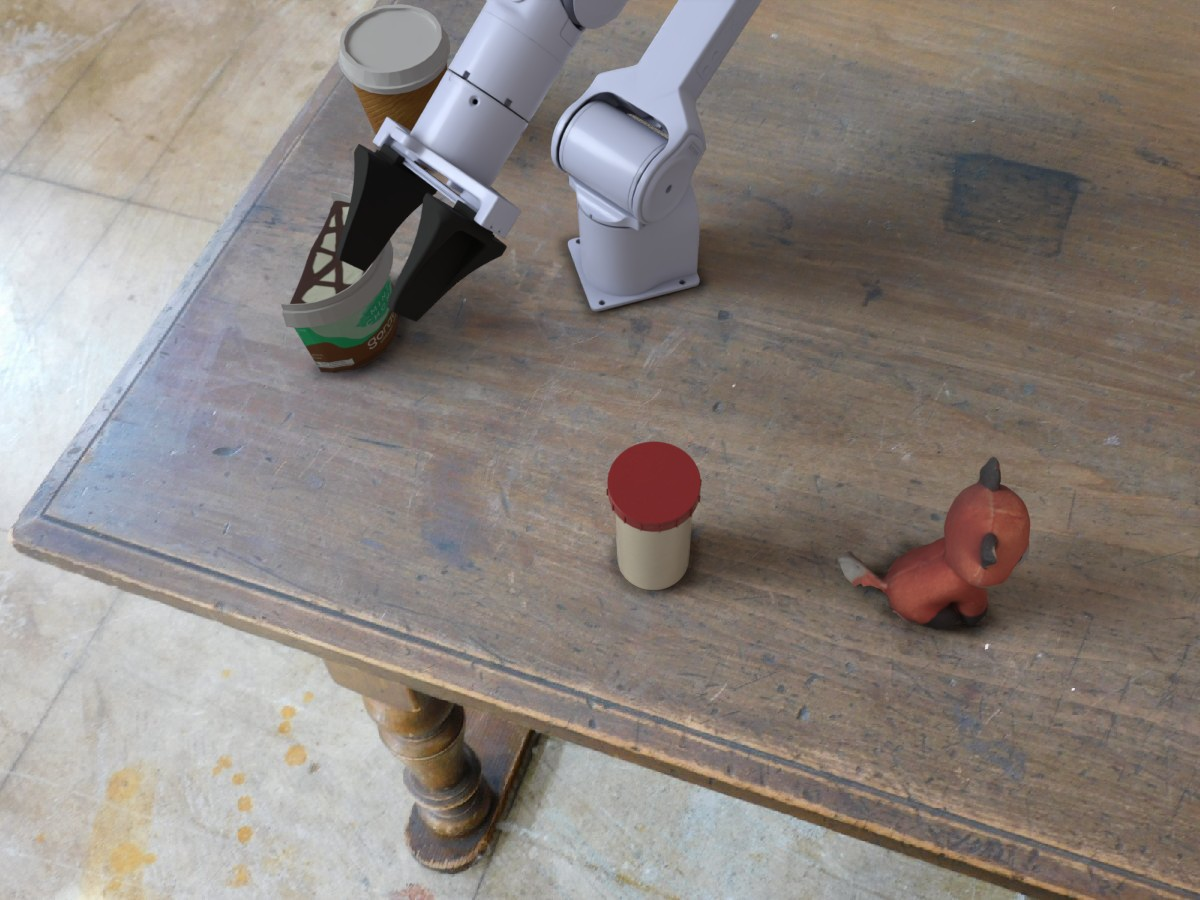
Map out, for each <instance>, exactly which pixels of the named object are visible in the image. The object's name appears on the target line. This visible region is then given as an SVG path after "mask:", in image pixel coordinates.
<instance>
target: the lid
mask: <svg viewBox="0 0 1200 900" xmlns="http://www.w3.org/2000/svg"><path fill="white" fill-rule="evenodd" d="M606 485H607V487H606V488H605V489H606V496H607V497H608V502H609V504H610V507H611V511H612V512H614V514H615V513H616V515H617V516H618V517H619V518H620V519H621V520H622V521H623V523H624V524H625V523H626V524H628V525H630V526H631V527H633V528H636V529H639V530H640V531H642V530H643V531H648V532H659V533H660V531H666V530H670V529H673V528H675V527H677V528H678V526H679V525H681V524H682V523H684V522H685V521H686V520H687V519H688V518H689V517H692V514H693V515H694V512H695V511H696V509H697V507H698V506H699V503H701V489H702V478H701V473H700V469H699V467H698V465H697V464H696V462H695V461H694V459H693V458H692V457H691V456H690V455H689V454H688V452H686V451H685V450H683V449H682V448H680V447H679V446H676V445H674V444H671V443H669V442H664V441H644V442H640V443H637V444H634V445H632V446H630V447H628V448H626V449H625V450H624V451H623V450H622V452H621V453H620V454H619V455H618V456H617V457H616V458H615V459H614V461H613V462H612V464H611V466H610V468H609V470H608V473H607V481H606ZM692 518H693V517H692Z"/></svg>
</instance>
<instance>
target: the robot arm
mask: <svg viewBox="0 0 1200 900" xmlns="http://www.w3.org/2000/svg"><path fill="white" fill-rule="evenodd" d="M628 2H629V0H485V4H484V5H483V7H482V9H481V11H480V12H479V14H478V15H477V17H476V20H475V21H474V23H473V24H472V26H471V28H470V30H469V31H468V32H467V34H466V36H465V38H464V40H463V42H462V43H461V45H460V47H459V49H458V50H457V51H456V54H455V56H453V59H452V60H451V63H450V64H449V65H448V66H447V71H446V73H445V74H444V76H443V78H442V80H441V81H440V83H439V85H438V86H437V88H436V90H435V92H434V93H433V95H432V97H431V99H430V100H429V102H428V104H427V105H426V107H425V109H424V111H423V112H422V114H421V116H420V117H419V119H418V121H417V123H416V124H415V126H414V128H413V129H412V131H410V130H408V129H407V128H405V127H404V126H402V125H400V124H399V123H397V122H395V121H394V120H392V119H391V118H389V117H386V119H385V121H384V123H383V124H382V126H381V128H380V130H379V131H378V133H377V135H376V134H375V136H374V139H373V140H372V143H373V144H374V145H375V146H377V147H378V148H380V149H376V150H375V151H374V150H371V149H370V148H367V147H366V146H365V145H363V144H360V143H358V144H357V146H356V147H355V149H354V151H353V162H354V163H353V164H354V165H353V166H354V168H353V183H352V184H353V185H352V189H351V190H352V191H351V196H350V197H351V202H350V206H349V210H348V214H347V218H346V221H345V225H344V228H343V232H342V235H341V238H340V242H339V246H338V249H337V254H336V257H337V258H338V259H339V260H341V261H343V262H345V263H347V264H349V265H352V266H354V267H356V268H358V269H360V270H362V271H365V270H366V269H367V268H368V267H369V266H370V265H371V264H372V263H373V262H374V261H375V260H376V258H377V257H378V256H379V254H380V253H381V251H382V250H383V248H384V247H385V246H386V244H387V243H388V241H389V240H390V241H391V239H392V237H393V235H394V234H395V233H396V232H397V230H398V229H399V228H400V227H401V225H402V224H403V223H404V222H405V221H406V220H407V219H408V218H409V217H410V215H412V214H413V213H414V212H415V211H416V210H417V209H418V208H419V207H420V206H421V205H422V207H421V212H420V218H419V222H418V227H417V231H416V234H415V238H414V241H413V243H412V247H411V250H410V251H409V255H408V258H407V259H406V261H405V263H404V265H403V267H402V269H401V271H400V273H399V274H398V277H397V279H396V281H395V283H394V285H393V286H392V292H391V295H390V298H389V301H388V305H387V307H388V308H389V309H390V310H391V311H392V312H394V313H396V314H397V315H399V316H401V317H403V318H406V319H407V320H410V321H412V322H415V323H418V322H419V320H421V319H422V318H423V317H424V316H425V315H426V314H427V313H428V312H429V311H430V310H431V309H432V308H433V307H434V306H435V305H436V304H437V303H438V302H439V301H440V300H441V299H442V298H443V297H444V296H446V294H447V293H448V292H449V291H451V290H452V289H453V288H454V287H455V286H456V285H458V284H459V283H460V282H461V281H463V280H464V279H466V277H468V276H469V275H471V274H472V273H473V272H475V271H476V270H479V269H480V268H481V267H483V266H485V265H487V264H489V263H490V262H492V261H494V260H496V259H498V258H501V257H502V256H503V255H504V253H505V251H506V250H507V248H508V246H507V244H505V243H504V242H503V241H501V240H500V239H499V238H497V236H499V237H500V238H502V239H506V238H507V236H508V235H509V234H510V232H511V230H512V228H513V227H514V225H515V223H517V221H518V219H519V217H520V216H521V214H522V209H520V208H519V207H518V206H516V205H515V204H514V203H512V202H511V201H510V200H508V199H507V198H506V197H505V196H504V195H502V194H501V193H500V192H498V191H497V190H496V189H495V188H494V187H493V186H492V185H493V184H494V182H495V180H496V179H497V177H498V175H499V174H500V172H501V170H502V169H503V167H504V165H505V164H506V162H507V160H508V159H509V157H510V156H511V154H512V153H513V151H514V149H515V148H516V145H517V144H518V142H519V141H520V139H521V137H522V136H523V134H524V132H525V131H526V129H527V127H528V126H529V123H530V122H531V121H532V119H533V117H534V116H535V114H536V112H537V111H538V109H539V107H540V106H541V105H542V102H543V101H544V100H545V97H546V96H547V94H548V93H549V91H550V89H551V87H552V85H554V83H555V81H556V79H557V78H558V76H559V74H560V73H561V71H562V70H563V67H564V66H565V64H566V62H567V60H568V59H569V58H570V56H571V54H572V52H573V50H574V49H575V48H576V46H577V45H578V43H579V41H580V39H581V38H582V36H583V35H584V33H585V31H586V29H588V30H596V29H600V28H602V27H604V26H606V25H607V24H609V23H610V22H611V21H613V20H615V19H617V18H618V16H619V15H620V14H621V13H622V11H624V9H625V6H626V5H627V4H628ZM762 2H763V0H677V1H676V3H675V5H674V7H673V8H672V9H671V11H670V12H669V14H668V16H667V18H666V19H665V21H664V22H663V23H662V25H661V27H660V28H659V29H658V32H657V33H656V35H654V38H653V40H652V41H651V42H650V44H649V46H648V47H647V49H646V50H645V52H644V53H643V55H642V56H641V58H640V59H639V61H638V63H636V64H634V65H630V66H626V67H620V68H616V69H611V70H607V71H604V72H600V73H598V74H597V75H596V77H595V78H594V80H593V81H592V82H591V84H590V85H589V87H588V88H587V89H586V91H584V93H583V94H582V95H581V96H580V97H579V98H578V99H577V100H576V101H574V102H573V103H571V104H570V105H569V106H568V107H567V108H566V110H565V111H564V112H563V113H562V114H561V116H560V118H559V120H558V121H557V123H556V124H555V125H556V126H555V128H554V131H553V133H552V138H551V144H550V157H551V161H552V163H553V165H554V166H555V167H556V168H557V169H558V170H560V171H561V172H563V173H565V174H568V185H569V187H570V188H571V189H572V190H573V191H574V193H575V195H576V205H577V207H576V209H577V219H578V232H579V233H578V234H579V237H574V238H571V239H569V240H568V242H567V247H568V251H569V253H570V255H571V258H572V259H571V260H572V262H573V264H574V267H575V269H576V272H577V275H578V277H579V281H580V284H581V286H582V289H583V291H584V294H585V297H586V300H587V302H588V305H589V307H590V309H591V311H593V312H602V311H604V310H609V309H614V308H617V307H621V306H624V305H625V306H626V305H629V304H634V303H636V302H640V301H644V300H648V299H652V298H656V297H659V296H662V295H667V294H671V293H674V292H675V293H676V292H679V291H683V290H687V289H690V288H694V287H697V286H698V285H700V283H701V282H700V275H699V274H698V263H699V262H698V261H699V246H700V231H701V229H700V227H701V226H700V213H699V205H698V201H697V197H696V194H695V191H694V188H693V185H692V178H693V175H694V173H695V171H696V168H698V167H697V166H698V165H699V163H700V161H701V159H702V158H703V156H704V154H705V151H706V150H707V142H706V136H705V132H704V129H703V126H702V123H701V120H700V116H699V114H698V110H697V106H696V102H697V101H698V99H699V98H700V96H701V95H702V93H703V92H704V90H705V89H706V87H707V86H708V85H709V82H710V81H711V80H712V78H713V77H714V75H715V73H716V72H717V70H718V69H719V67H720V66H721V64H722V62H723V61H724V59H725V58H726V56H727V55H728V54H729V52H730V50H731V49H732V48H733V46H734V44H735V43H736V41H737V40H738V38H739V36H740V35H741V34H742V32H743V31H744V29H745V27H746V26H747V24H748V23H749V21H750V20H751V18H752V17H753V15H754V14H755V12H756V11H757V9H758V8H759V6H760V4H761V3H762ZM632 116H634V117H637V118H638V119H640V120H642V121H643V122H644V123H647V124H648V125H650V126H651V127H653V128H655V129H657V131H660V132H662V133H663V134H665V135H666V136H668V138H667V137H665V136H664V135H662V134H661V133H660V132H657V131H656V130H654V129H652V128H651V127H649V126H647V125H646V124H644V123H642V122H641V121H639V120H637V119H636V118H634V117H632ZM421 164H422V165H424V166H425V167H426V168H427V169H429V170H430V171H432V172H434V173H436V172H438V173H440V174H441V175H443V177H445V178H447V181H446V184H445V183H444V182H442V181H441V180H440V179H438V178H437V177H436V176H435V175H433V174H432V173H430V171H428V170H427V169H426V168H422V167H421V166H420V165H421ZM437 192H439V193H440V194H441V195H443V196H444V197H446V198H447V199H448V200H450V201H451V202H452V203H453V204H454V205H453V206H452V205H449V204H448V203H447V202H445V201H443V200H441V199H439V198H437V197H436V196H434V195H436V194H437ZM458 193H459V194H458ZM495 234H496V235H497V236H495Z"/></svg>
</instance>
